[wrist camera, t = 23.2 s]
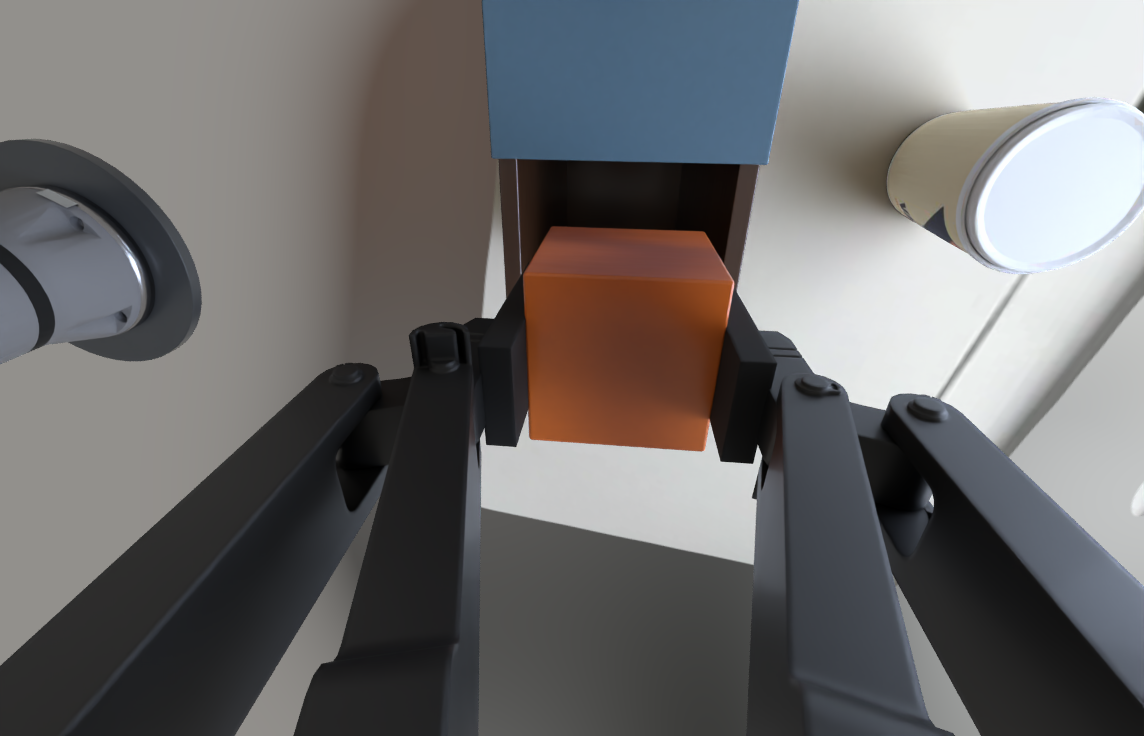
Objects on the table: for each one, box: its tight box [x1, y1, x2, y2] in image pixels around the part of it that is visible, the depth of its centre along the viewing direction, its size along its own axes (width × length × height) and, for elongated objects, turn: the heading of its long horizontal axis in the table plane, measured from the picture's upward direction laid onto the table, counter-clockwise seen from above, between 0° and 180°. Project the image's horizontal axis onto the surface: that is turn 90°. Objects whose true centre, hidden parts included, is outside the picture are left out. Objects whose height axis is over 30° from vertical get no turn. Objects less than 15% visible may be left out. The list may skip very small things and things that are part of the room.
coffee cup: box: [887, 97, 1144, 274], centre depth 32 cm, size 9×9×12 cm
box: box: [499, 159, 760, 299], centre depth 29 cm, size 11×16×21 cm
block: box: [523, 226, 734, 451], centre depth 15 cm, size 5×5×5 cm
